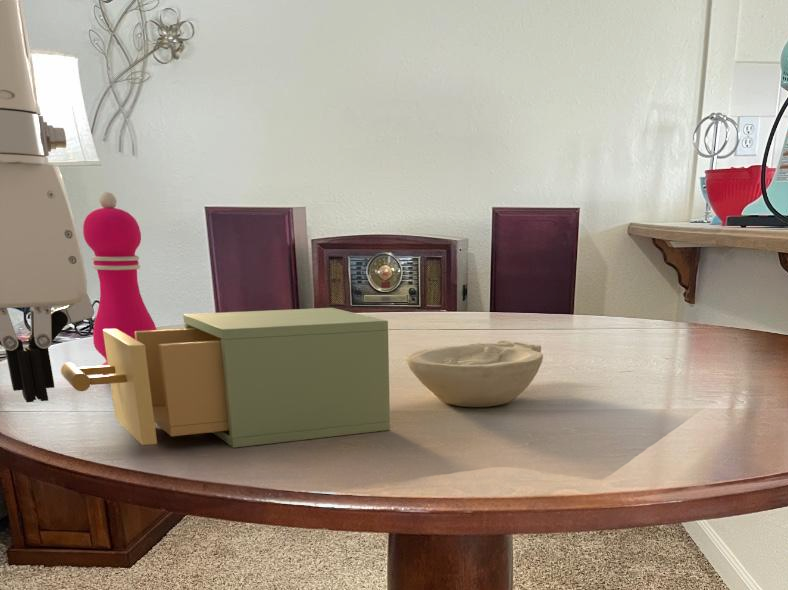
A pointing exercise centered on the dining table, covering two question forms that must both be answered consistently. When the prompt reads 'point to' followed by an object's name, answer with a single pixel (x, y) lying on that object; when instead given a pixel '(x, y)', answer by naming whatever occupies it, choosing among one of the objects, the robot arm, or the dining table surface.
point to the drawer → (161, 381)
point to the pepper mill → (116, 271)
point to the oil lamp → (477, 372)
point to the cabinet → (300, 373)
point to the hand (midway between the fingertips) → (35, 398)
